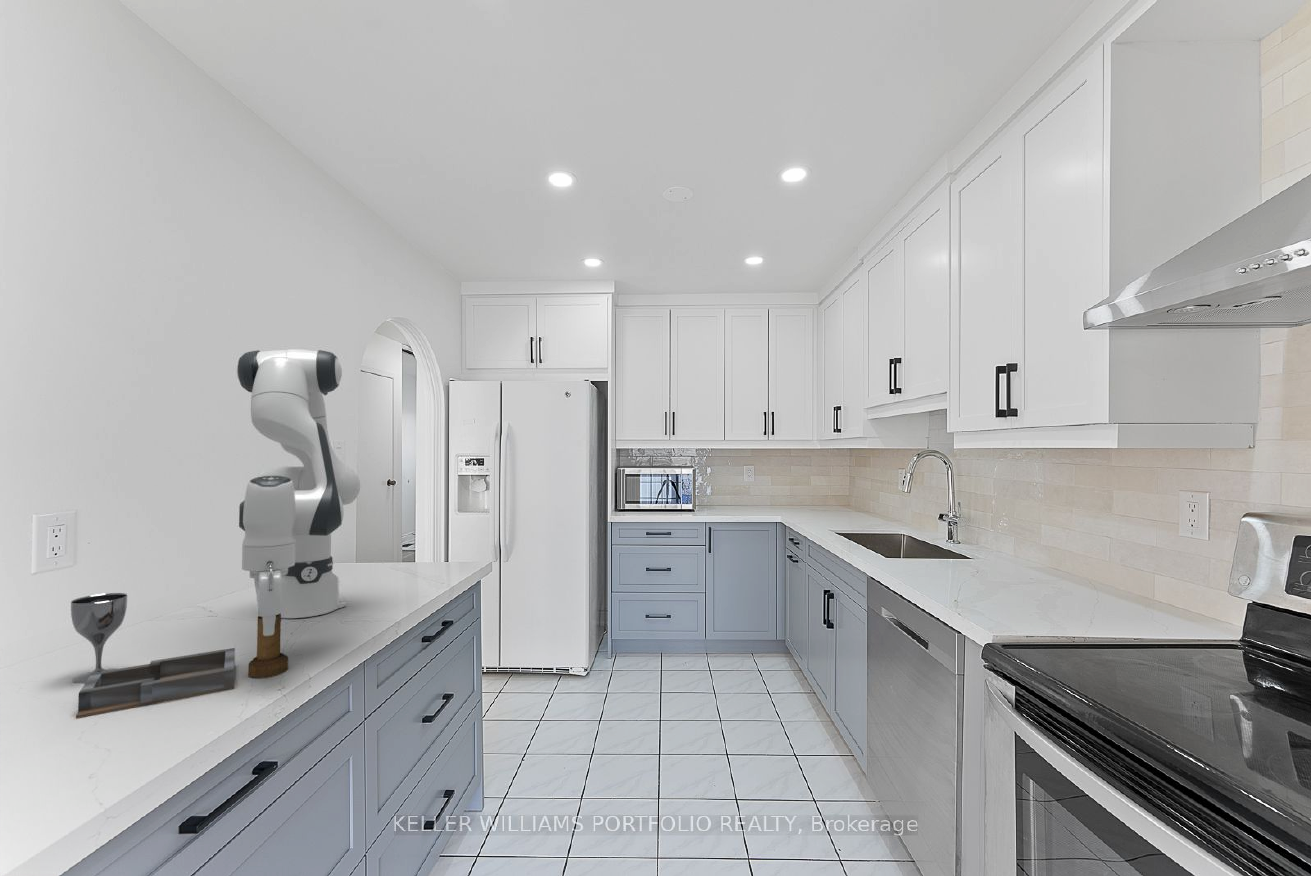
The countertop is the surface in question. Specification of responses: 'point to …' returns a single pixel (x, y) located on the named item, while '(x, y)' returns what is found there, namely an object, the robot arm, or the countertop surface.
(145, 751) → the countertop surface
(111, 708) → the tray
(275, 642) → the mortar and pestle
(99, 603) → the wine glass
